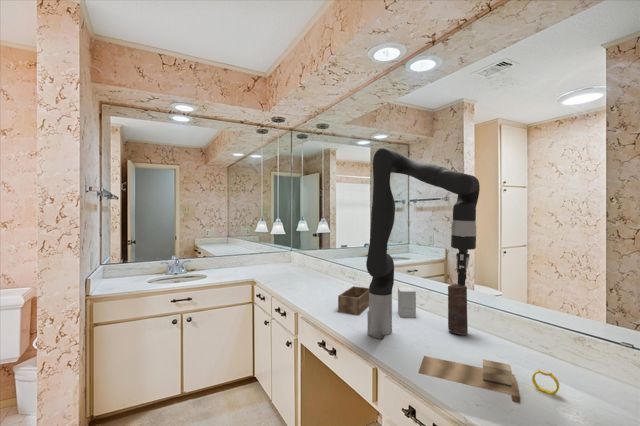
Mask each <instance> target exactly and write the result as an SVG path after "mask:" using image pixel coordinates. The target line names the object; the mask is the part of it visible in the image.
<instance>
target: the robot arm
mask: <svg viewBox="0 0 640 426" xmlns="http://www.w3.org/2000/svg"><path fill="white" fill-rule="evenodd" d="M393 173H394V174H401V175H406V176H409V177H412V178H414V179H415V180H419V181H420V182H422V183H424V184H428V185H431V186H434V187H437V188H441V189H444V190H445V191H448V192H450V193H452V194H455V195H457V198H456V203H454V205H453V208H452V222H451V230H450V231H451V234H450V235H451V236H450V237H451V238H450V246H451V247H450V248H453V249H457V250H458V252H457V253H456V254H455V259H456V261H455V262H456V273H457V284H458V285H461V286H466V280H467V272H468V270H467V269H469V264H470V263H469V262H470V253H468V252H469V251H470V250H475V249H476V248H477V221H476V220H477V205H478V201H479V196H480V189H481V188H480V186H481V185H480V181H479V179H478V178H477V177H476V176H474V175H471V174H467V173H465V172H464V173H463V172H458V171H455V170H451V169H449V168H446V167H443V166H441V165H437V164H433V163H429V162H423V161H419V160H415V159H413V158H410V157H407V156H405V155H404V154H402V153H400V152H398V151H397V150H396V149H395V150H394V149H392V148H388V147H381V148H378V149H377V150H376V151H375V152H374V155H373V159H372V179H373V184H372V185H373V186H372V201H371V203H372V204H371V214H370V229H369V230H370V232H369V233H370V234H369V236H370V237H369V244H368V251H367V256H366V262H365V263H366V265H365V266H366V271H367V273H368V274H369V275H370V276H371V277H372V278H371V282H370V284H369V287H368V288H369V307H368V311H367V336H370V337H372V338H375V339H382V340H383V339H384V338H385V337H386V336H390V335H391V334H393V287H394V283H395V282H394V281H395V263H394V259H393V258H392V256H391V255H390V254H388V243H389V239H390V236H391V234H392V231H393V227H394V224H395V214H396V203H395V199H394V195H393V192H392V188H391V174H393Z"/></svg>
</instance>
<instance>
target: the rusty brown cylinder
mask: <svg viewBox="0 0 640 426" xmlns="http://www.w3.org/2000/svg"><path fill="white" fill-rule="evenodd" d="M468 326H469V325H468V287H467V285H465V286H461V285H458V283H453V284H450V285H447V329H448V331H450V332H451V333H454V334H457V335H464V336H467V335H468V334H469V333H468V332H469V331H468V330H469V329H468Z"/></svg>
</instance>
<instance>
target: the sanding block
mask: <svg viewBox="0 0 640 426" xmlns="http://www.w3.org/2000/svg"><path fill="white" fill-rule="evenodd" d="M482 368H483V381H486V382H490V383H495V384H499V385H504V386H508V387H512V373H513V371H512V367H511V364H509V363H503V362H499V361H493V360H489V359H482Z"/></svg>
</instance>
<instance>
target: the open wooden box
mask: <svg viewBox="0 0 640 426" xmlns="http://www.w3.org/2000/svg"><path fill="white" fill-rule="evenodd" d="M337 298H338V299H337V301H338V303H337V310H338V313H342V314H350V315H355V316H360V315H361V314H362V313H363V312H365V311H366V310H367V309H368V308H369V287H364V286H363V287H361V286H354V285H353V286H351V287H350V288H348V289H347V290H345V291H344V292H342V293H340V294H339V295H338V296H337Z"/></svg>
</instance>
